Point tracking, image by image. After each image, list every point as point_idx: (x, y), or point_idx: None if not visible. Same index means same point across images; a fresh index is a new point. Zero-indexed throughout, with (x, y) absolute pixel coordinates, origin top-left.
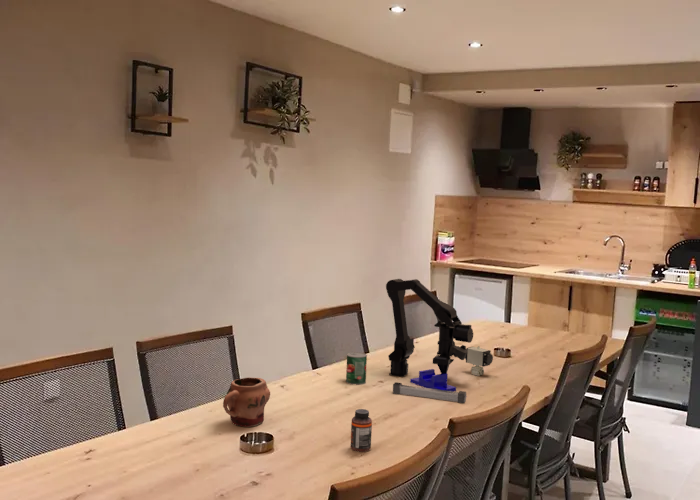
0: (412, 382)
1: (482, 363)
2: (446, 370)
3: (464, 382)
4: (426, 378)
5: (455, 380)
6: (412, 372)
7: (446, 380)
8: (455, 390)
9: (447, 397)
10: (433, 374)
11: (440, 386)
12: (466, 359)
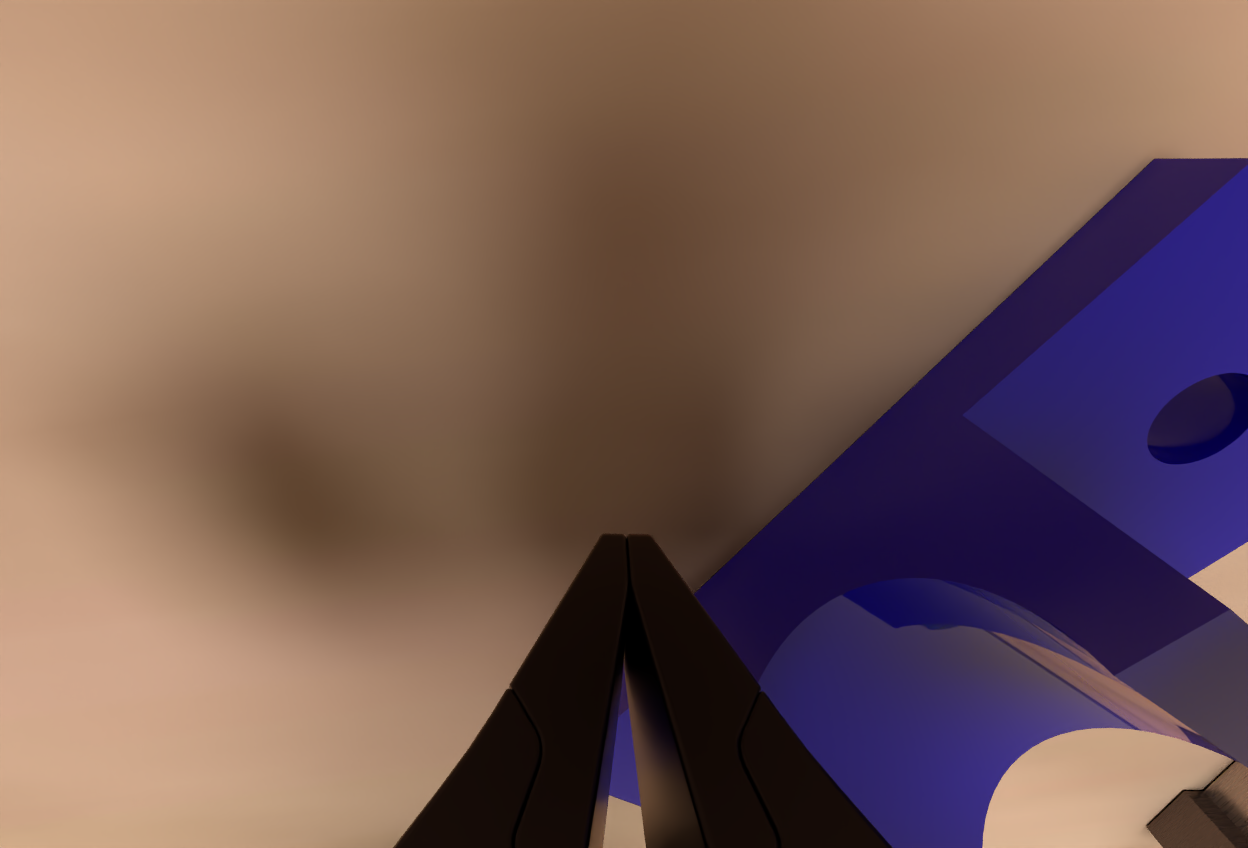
0: None
1: None
2: (765, 702)
3: (263, 42)
4: (943, 779)
5: (250, 308)
6: (292, 841)
7: (1048, 480)
8: (1173, 170)
9: None
10: None
11: (1144, 502)
12: None
